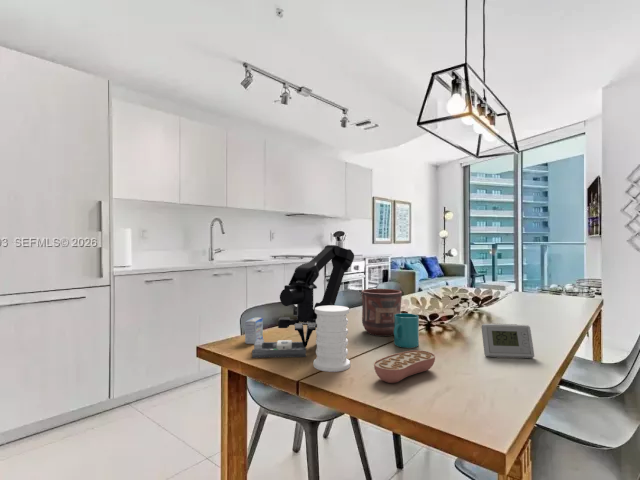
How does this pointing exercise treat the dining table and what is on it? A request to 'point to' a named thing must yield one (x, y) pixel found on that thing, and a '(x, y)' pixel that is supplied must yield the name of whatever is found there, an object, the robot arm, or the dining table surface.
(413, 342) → the cup
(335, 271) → the robot arm
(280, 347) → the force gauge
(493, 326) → the digital thermostat
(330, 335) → the decorative container
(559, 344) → the dining table surface
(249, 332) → the medicine box
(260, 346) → the gauge stand
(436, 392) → the dining table surface
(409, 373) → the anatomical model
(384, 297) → the pottery
